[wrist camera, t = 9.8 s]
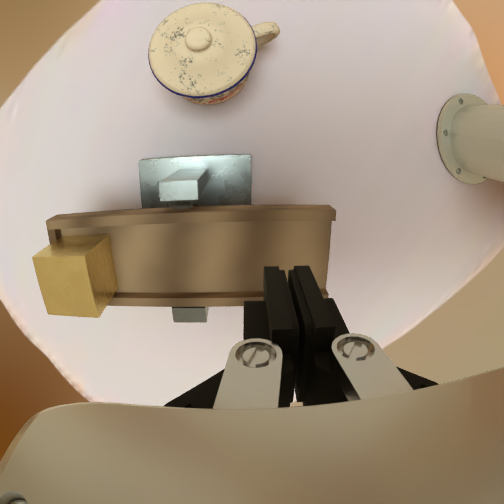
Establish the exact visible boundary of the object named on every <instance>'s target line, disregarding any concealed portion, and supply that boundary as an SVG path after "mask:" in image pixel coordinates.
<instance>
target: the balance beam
mask: <svg viewBox="0 0 504 504" xmlns="http://www.w3.org/2000/svg"><path fill="white" fill-rule="evenodd" d="M332 221H336V210H335V209H333V208H332V207H331V206H330V205H227V206H193V205H192V203H190V202H179V203H174V204H171V205H170V207H168V208H147V209H129V210H113V211H98V212H85V213H72V214H60V215H56V216H54V217H52V218H50V219H48V220H47V221H46V224H47V230H48V236H49V241H50V244H51V243H52V242H54V241H55V240H57V239H58V238H60V237H61V236H74V235H95V234H110V240H111V246H112V253H113V259H114V264H115V270H116V276H117V281H118V286H119V288H118V290H117V291H116V293H115V294H114V296H113V297H112V299H111V300H110V302H109V303H108V305H110V306H157V307H212V306H244V301H263V273H264V266H279V270H285V274H286V277H287V281H288V271H289V270H293V269H294V266H307V265H309V266H310V268H311V271H312V273H313V275H314V277H315V280H316V282H317V284H318V286H319V289H320V291H321V293H322V296H323V298H328V295H329V294H328V292H327V291H326V281H327V271H328V260H329V249H330V236H331V223H332Z"/></svg>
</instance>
